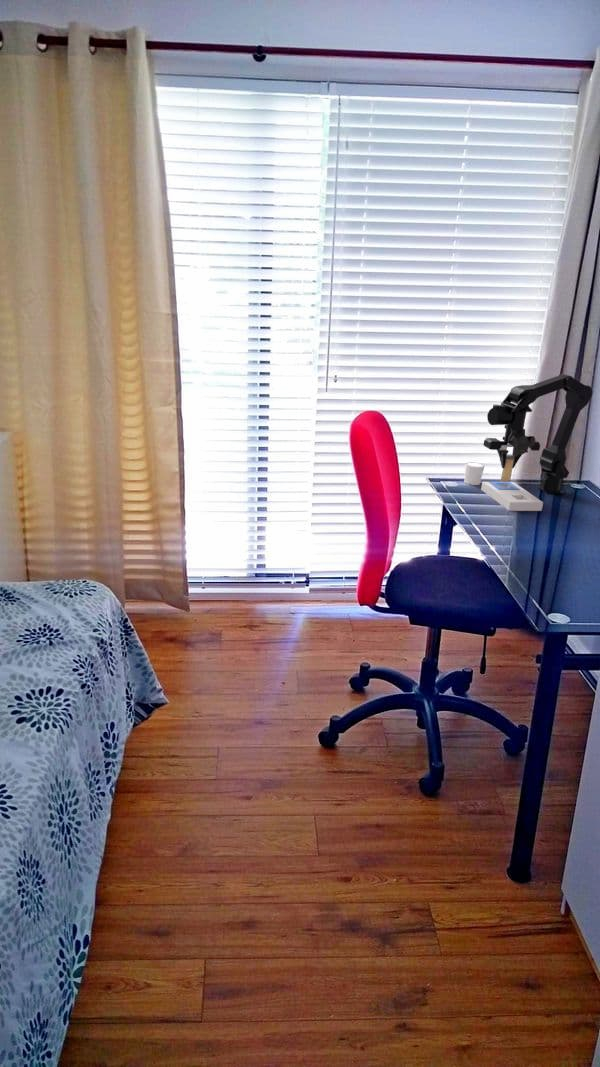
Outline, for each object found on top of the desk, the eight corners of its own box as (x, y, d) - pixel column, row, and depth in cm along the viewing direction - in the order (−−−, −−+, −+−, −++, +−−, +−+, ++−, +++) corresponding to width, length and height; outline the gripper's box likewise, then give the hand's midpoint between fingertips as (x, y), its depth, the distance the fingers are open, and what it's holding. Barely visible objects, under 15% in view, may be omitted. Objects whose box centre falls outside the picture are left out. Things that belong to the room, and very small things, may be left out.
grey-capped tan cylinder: (507, 479, 275) (512, 454, 272) (511, 481, 273) (516, 457, 269) (499, 479, 275) (503, 454, 271) (503, 481, 272) (507, 456, 269)
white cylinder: (458, 480, 287) (461, 462, 285) (473, 479, 290) (476, 461, 288) (470, 486, 282) (473, 467, 279) (485, 485, 284) (488, 466, 282)
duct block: (511, 489, 281) (513, 481, 280) (541, 510, 261) (543, 501, 260) (481, 489, 279) (482, 480, 277) (508, 510, 259) (510, 501, 258)
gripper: (500, 429, 257) (493, 474, 263) (551, 430, 261) (543, 475, 267) (486, 421, 267) (479, 465, 273) (535, 422, 271) (527, 465, 277)
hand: (507, 468), depth 272 cm, fingers closed on grey-capped tan cylinder, 3 cm apart
